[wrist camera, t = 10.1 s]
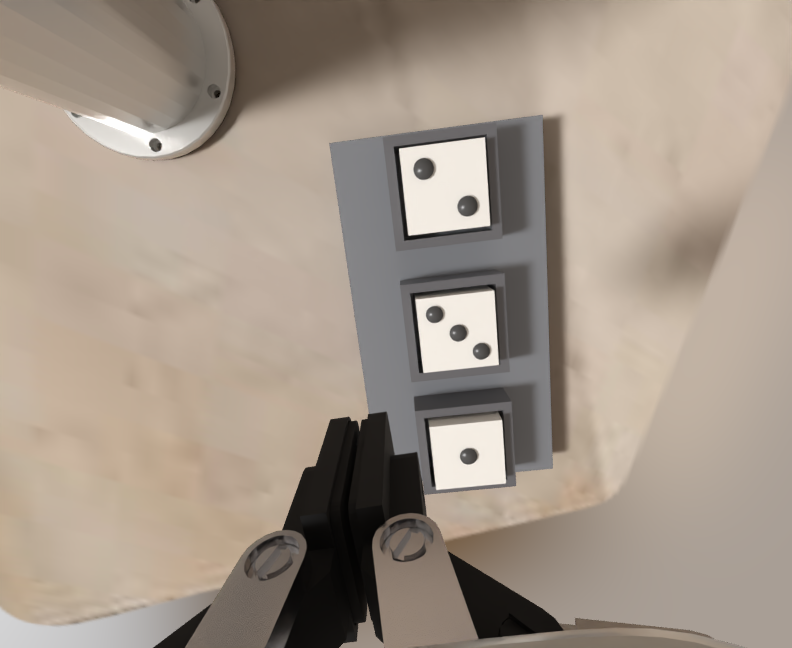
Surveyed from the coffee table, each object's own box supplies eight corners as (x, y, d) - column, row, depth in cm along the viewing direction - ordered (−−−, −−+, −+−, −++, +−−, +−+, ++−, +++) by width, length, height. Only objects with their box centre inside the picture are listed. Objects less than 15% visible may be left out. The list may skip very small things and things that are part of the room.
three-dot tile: (414, 292, 28) (415, 300, 25) (484, 283, 28) (494, 290, 25) (421, 358, 29) (423, 373, 26) (489, 351, 29) (499, 365, 26)
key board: (334, 149, 28) (321, 134, 23) (532, 123, 27) (557, 102, 23) (380, 470, 34) (377, 506, 29) (543, 454, 33) (565, 488, 29)
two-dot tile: (399, 157, 26) (399, 147, 23) (475, 147, 26) (485, 136, 22) (407, 234, 27) (408, 235, 24) (480, 226, 27) (490, 225, 24)
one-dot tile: (426, 407, 30) (429, 428, 27) (492, 401, 30) (502, 420, 27) (433, 465, 31) (436, 491, 28) (496, 459, 31) (506, 484, 28)
